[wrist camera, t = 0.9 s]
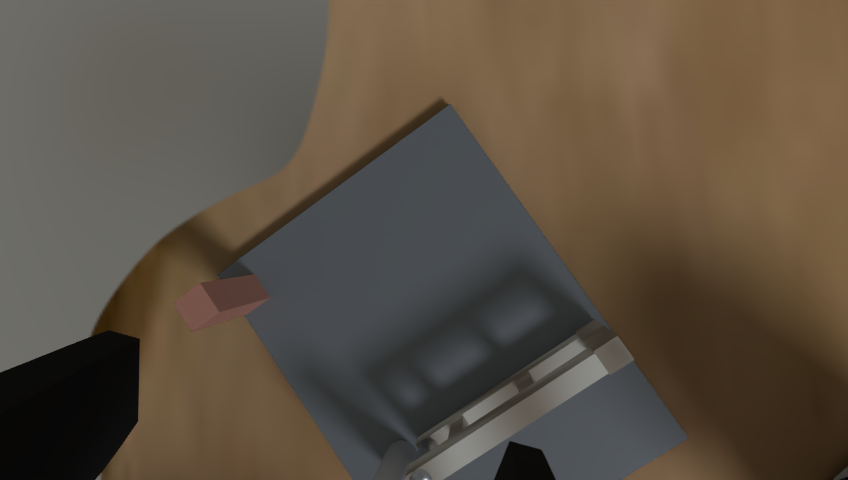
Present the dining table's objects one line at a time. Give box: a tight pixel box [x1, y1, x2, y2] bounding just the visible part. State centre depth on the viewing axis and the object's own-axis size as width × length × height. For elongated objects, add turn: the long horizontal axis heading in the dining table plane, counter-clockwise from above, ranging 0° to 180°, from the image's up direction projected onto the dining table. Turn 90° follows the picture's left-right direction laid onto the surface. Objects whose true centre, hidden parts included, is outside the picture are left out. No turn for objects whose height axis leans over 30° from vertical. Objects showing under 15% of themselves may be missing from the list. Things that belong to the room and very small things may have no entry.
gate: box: [405, 319, 634, 480], centre depth 24 cm, size 11×1×4 cm, turn 125°
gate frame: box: [173, 104, 688, 480], centre depth 24 cm, size 21×16×7 cm
